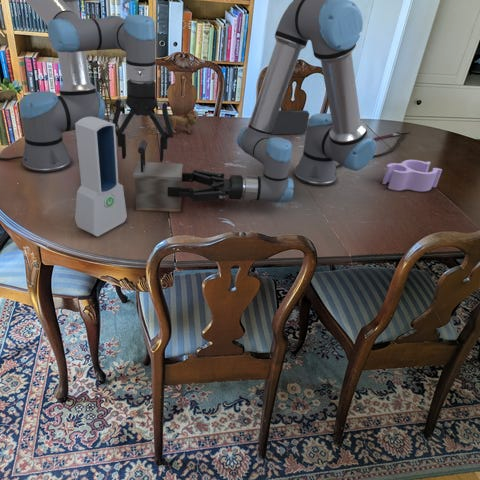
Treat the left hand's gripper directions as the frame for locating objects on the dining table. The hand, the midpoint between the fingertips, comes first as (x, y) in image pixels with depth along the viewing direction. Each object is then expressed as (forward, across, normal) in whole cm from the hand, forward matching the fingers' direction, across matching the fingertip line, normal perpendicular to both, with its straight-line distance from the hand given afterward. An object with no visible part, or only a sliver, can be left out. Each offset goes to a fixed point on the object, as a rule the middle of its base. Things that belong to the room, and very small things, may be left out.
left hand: (143, 158), depth 136 cm
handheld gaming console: (+15, +53, +69) cm, 88 cm away
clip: (+15, +94, +24) cm, 98 cm away
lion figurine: (+15, +9, +63) cm, 66 cm away
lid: (+4, +4, 0) cm, 6 cm away
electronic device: (+15, -10, -14) cm, 23 cm away
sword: (+15, +104, +73) cm, 127 cm away
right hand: (+8, +8, 0) cm, 11 cm away
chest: (+15, +5, 0) cm, 15 cm away
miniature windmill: (+15, -22, +58) cm, 64 cm away
